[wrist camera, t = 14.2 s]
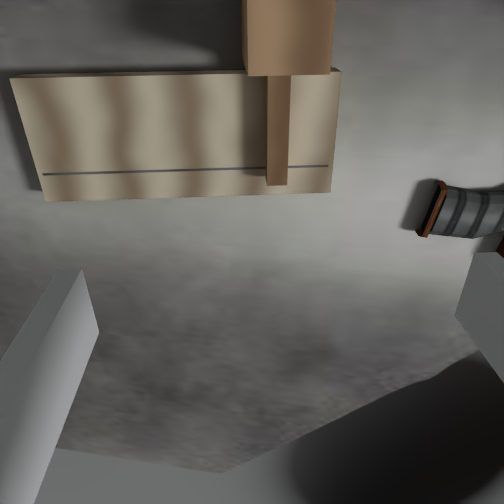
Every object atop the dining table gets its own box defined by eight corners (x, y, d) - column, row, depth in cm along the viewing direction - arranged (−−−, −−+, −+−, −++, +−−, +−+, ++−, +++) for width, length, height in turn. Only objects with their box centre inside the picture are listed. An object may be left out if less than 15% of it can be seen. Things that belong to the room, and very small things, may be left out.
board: (54, 192, 45) (45, 202, 43) (21, 74, 39) (9, 78, 37) (325, 183, 46) (330, 192, 44) (335, 68, 40) (341, 71, 38)
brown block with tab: (244, 169, 45) (250, 213, 35) (241, -4, 36) (246, -6, 27) (299, 167, 45) (319, 210, 36) (308, -5, 37) (336, -7, 27)
